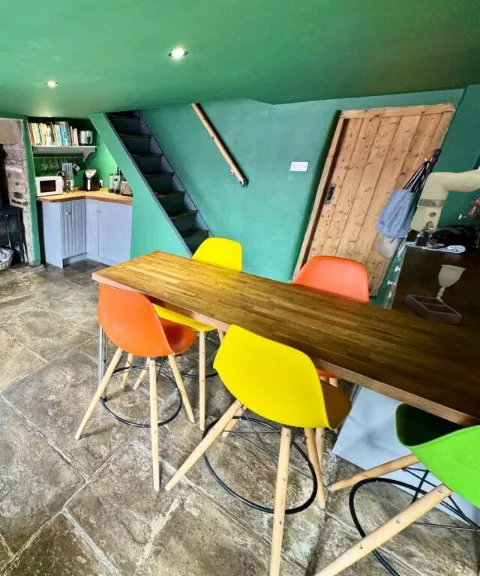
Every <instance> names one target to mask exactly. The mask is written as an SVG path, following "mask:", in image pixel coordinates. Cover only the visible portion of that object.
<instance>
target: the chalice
mask: <svg viewBox="0 0 480 576" xmlns="http://www.w3.org/2000/svg"><path fill="white" fill-rule="evenodd" d="M465 270H466V268H464V267H460V266H457V265H456V266H455V265H449V264H441V269H440V272H439V274H438V283H439V286H441V288H440V289H439V292H438V293H437V296H436V297H435V298H437V299H439V300H440V301H442V302H443V303H444V301H443V300H442V299H441V297H442V296H443V295H444V294H443V293H444V292H445V290H446V288H449V287H450V286H452V285H454V284H455V283H456V282H457V281H458V280H460V278H461V276H462V274H463V272H464V271H465Z"/></svg>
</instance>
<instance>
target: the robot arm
mask: <svg viewBox="0 0 480 576" xmlns="http://www.w3.org/2000/svg"><path fill="white" fill-rule="evenodd" d="M479 189H480V168H478V169H472V170H466V171H463V172H452V171H435V172H431V173H429V174H428V176H427V178H426V180H425V183H424V186H423V188H422V191H421V194H420V197H419V199H418V202H417V205H416V207H417V208H416V211H415V213H414V215H413V217H412V219H411V222H410V225H409V229H408V231H407V235H406V237H405V242H407V243H415V246H414V247H420V248H426V247H427V245H428V243H429V239H430V238H431V236H432V235H433V233H435V231H436V229H437V226H438V223H439V221H440V217H441V212H442V209H443V207H444V205H445V202H446V200H447V198H448V195H449V193H450V192H458V193H470V192H474V191H477V190H479ZM418 232H419V233H418ZM418 235H419V236H418Z"/></svg>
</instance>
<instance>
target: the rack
mask: <svg viewBox="0 0 480 576" xmlns="http://www.w3.org/2000/svg"><path fill="white" fill-rule="evenodd" d="M442 301H443V300H442ZM442 301H440V300H439V299H437V298H436V297H432V296H424V295H415V294H409V293H408V294H406V297H405V299H404V301H403V304H404V305H405V306H407V307H406V308H407V309H408V310H412V311H413V310H414V311H415V312H416V313H417V314H418V315H420V317H422V319H423V320H427V321H432V322H437V323H444V324H452V325H459V324H460V322H461V320H462V317H463V315H462V314H461V313H460V312H458V311H456V310H455V309H453V308H452V307H450V305H447V304H446V303H445V302H444V301H443V302H442Z"/></svg>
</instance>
